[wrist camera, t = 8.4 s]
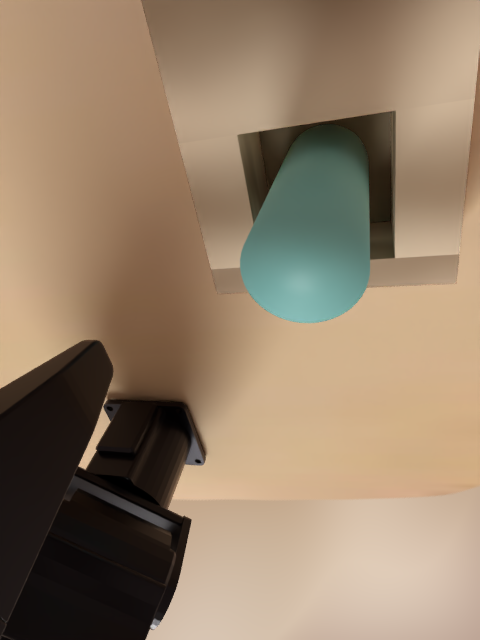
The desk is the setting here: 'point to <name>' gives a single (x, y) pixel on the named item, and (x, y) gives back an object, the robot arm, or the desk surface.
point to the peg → (312, 230)
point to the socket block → (324, 112)
